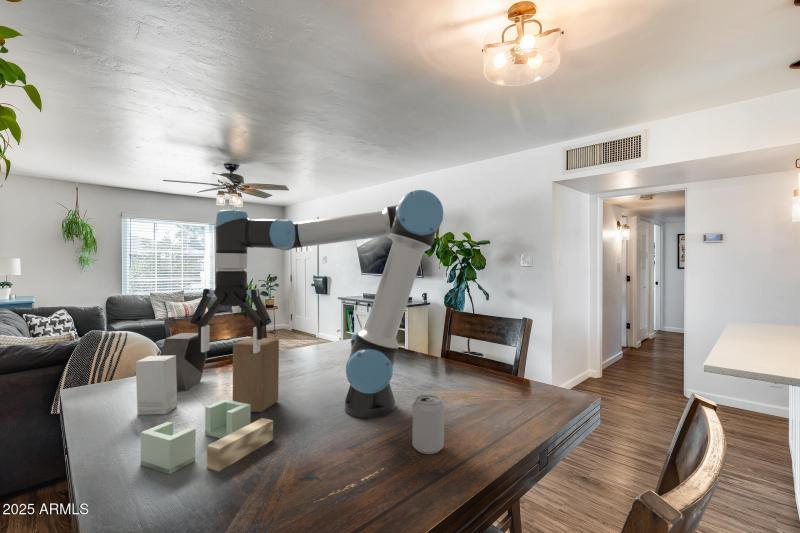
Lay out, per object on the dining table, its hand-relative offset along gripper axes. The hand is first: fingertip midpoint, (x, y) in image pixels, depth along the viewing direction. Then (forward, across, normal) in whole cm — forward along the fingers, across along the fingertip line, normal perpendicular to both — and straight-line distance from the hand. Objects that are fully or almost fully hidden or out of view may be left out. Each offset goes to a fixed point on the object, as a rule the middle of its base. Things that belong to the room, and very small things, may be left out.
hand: (230, 351), depth 100 cm
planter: (+20, +33, -33) cm, 51 cm away
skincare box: (+20, +27, -10) cm, 35 cm away
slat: (+20, -8, +12) cm, 25 cm away
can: (+21, -51, +7) cm, 56 cm away
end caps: (+20, +2, +10) cm, 23 cm away
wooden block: (+20, 0, -16) cm, 26 cm away
